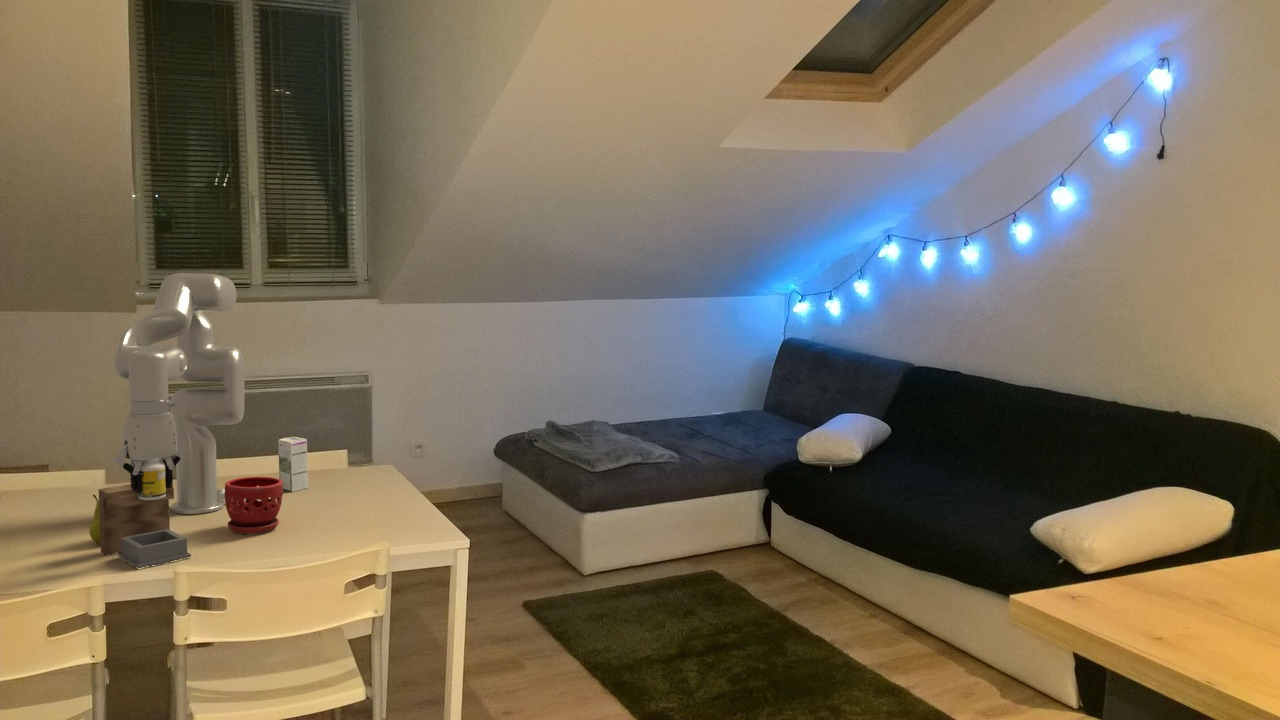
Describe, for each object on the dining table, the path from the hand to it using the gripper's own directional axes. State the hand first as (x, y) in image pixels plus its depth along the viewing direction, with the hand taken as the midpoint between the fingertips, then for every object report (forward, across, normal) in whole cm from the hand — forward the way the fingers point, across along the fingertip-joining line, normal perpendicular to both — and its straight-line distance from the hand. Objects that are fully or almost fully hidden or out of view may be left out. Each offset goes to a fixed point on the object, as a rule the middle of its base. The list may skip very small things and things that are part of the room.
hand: (152, 488), depth 213 cm
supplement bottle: (+2, 0, 0) cm, 2 cm away
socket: (+16, 0, 0) cm, 16 cm away
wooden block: (+16, 0, -9) cm, 18 cm away
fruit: (+16, +4, -18) cm, 24 cm away
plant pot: (+16, -26, -6) cm, 31 cm away
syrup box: (+16, -52, -35) cm, 65 cm away
